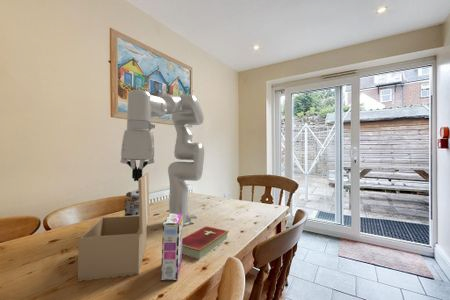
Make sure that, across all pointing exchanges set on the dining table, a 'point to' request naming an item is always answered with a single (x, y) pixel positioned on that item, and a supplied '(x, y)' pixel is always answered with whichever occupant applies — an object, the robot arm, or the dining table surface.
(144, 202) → the carton lid
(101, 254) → the carton
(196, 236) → the hardcover book
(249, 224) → the dining table surface
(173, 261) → the candy bar box
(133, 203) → the figurine
